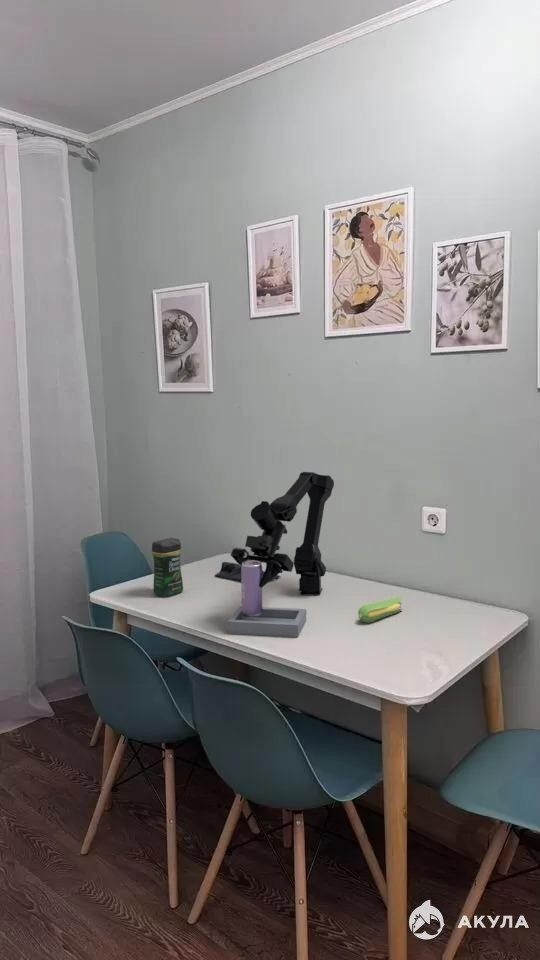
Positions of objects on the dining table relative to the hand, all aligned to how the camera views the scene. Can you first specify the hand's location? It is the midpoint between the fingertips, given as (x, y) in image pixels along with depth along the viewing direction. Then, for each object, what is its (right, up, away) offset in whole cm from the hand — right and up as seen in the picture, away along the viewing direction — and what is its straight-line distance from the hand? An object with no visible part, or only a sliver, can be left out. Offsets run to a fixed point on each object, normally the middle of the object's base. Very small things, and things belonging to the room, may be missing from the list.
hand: (251, 585), depth 198 cm
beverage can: (0, -8, +2) cm, 9 cm away
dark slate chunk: (-3, -5, +51) cm, 51 cm away
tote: (+5, -12, +1) cm, 13 cm away
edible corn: (+39, -10, +7) cm, 41 cm away
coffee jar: (-29, -8, +35) cm, 46 cm away
